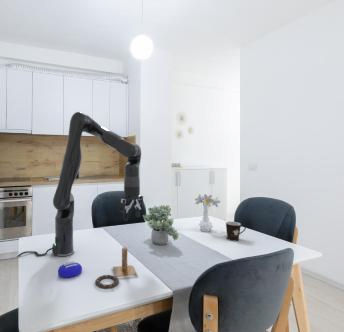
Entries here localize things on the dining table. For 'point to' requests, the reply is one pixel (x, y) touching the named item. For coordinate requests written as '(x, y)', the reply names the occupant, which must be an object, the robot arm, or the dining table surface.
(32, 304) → the dining table surface
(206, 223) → the flower vase
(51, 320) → the dining table surface
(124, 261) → the post
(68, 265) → the decorative object
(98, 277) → the ring
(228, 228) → the coffee mug
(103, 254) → the dining table surface
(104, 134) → the robot arm
